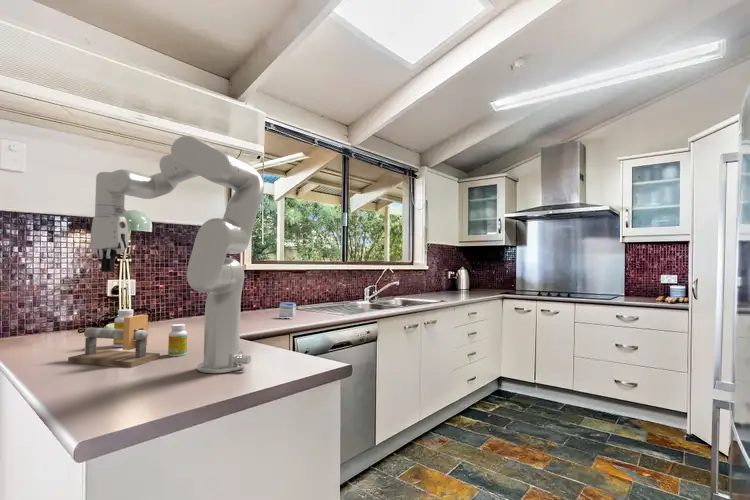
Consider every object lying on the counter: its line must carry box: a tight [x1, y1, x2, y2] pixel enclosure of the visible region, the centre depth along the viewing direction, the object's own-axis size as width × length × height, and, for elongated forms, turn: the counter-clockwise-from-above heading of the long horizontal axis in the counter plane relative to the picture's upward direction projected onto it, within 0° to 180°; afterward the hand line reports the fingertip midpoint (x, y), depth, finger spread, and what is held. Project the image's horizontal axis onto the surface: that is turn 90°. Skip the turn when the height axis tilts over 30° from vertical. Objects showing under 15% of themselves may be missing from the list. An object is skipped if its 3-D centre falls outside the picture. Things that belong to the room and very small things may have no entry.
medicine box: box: [278, 302, 297, 317], centre depth 215 cm, size 8×4×9 cm, turn 81°
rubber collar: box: [122, 314, 149, 351], centre depth 119 cm, size 2×7×9 cm, turn 168°
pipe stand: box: [67, 327, 161, 368], centre depth 120 cm, size 22×11×10 cm, turn 78°
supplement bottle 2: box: [167, 323, 188, 357], centre depth 129 cm, size 5×5×10 cm
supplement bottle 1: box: [112, 308, 137, 349], centre depth 141 cm, size 7×7×13 cm
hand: (107, 271), depth 122 cm, fingers closed
